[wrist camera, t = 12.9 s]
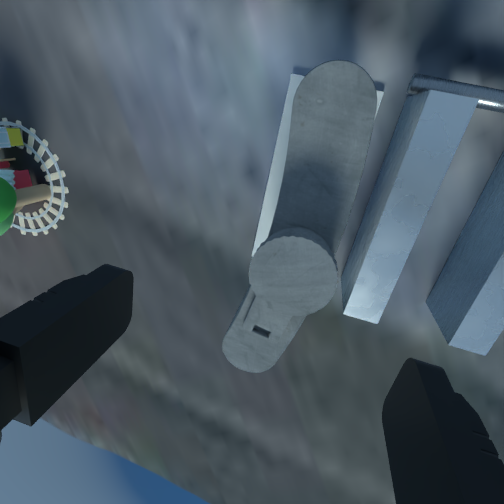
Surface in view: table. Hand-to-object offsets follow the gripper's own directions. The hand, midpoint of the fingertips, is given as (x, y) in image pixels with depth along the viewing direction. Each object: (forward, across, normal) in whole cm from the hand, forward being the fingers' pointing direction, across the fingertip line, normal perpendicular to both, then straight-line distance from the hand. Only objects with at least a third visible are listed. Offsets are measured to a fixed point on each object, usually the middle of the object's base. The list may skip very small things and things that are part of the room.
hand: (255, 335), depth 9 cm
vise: (+25, -12, 0) cm, 27 cm away
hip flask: (+24, 0, 0) cm, 24 cm away
